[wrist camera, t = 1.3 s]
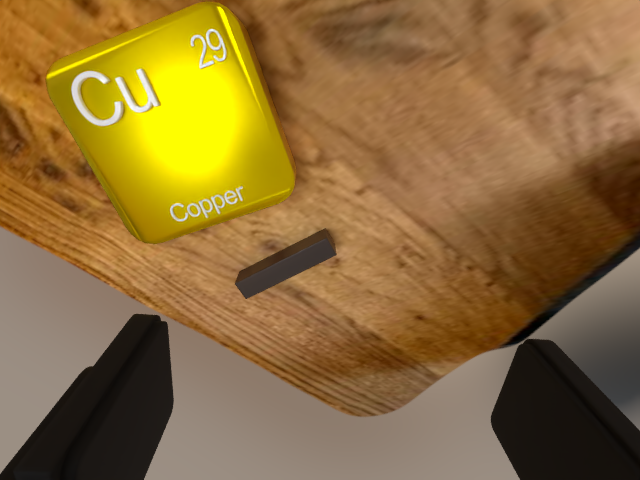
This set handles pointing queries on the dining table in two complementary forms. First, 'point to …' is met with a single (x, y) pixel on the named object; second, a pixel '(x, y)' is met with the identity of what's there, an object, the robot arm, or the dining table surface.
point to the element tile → (176, 122)
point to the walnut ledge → (286, 263)
